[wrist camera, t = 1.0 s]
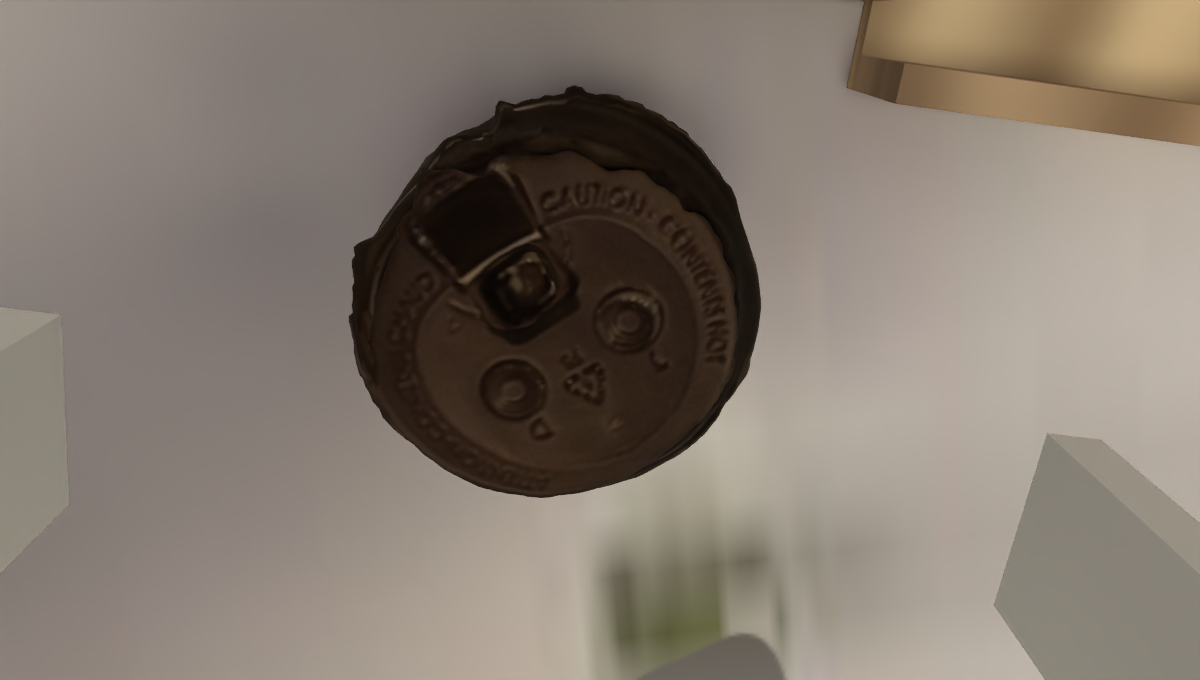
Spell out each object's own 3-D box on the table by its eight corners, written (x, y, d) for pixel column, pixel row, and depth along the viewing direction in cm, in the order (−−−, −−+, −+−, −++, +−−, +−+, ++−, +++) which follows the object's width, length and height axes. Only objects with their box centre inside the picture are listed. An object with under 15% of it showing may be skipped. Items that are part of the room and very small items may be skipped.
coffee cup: (439, 39, 29) (337, 67, 17) (717, 71, 29) (819, 121, 17) (423, 318, 32) (326, 520, 19) (677, 344, 32) (739, 556, 20)
